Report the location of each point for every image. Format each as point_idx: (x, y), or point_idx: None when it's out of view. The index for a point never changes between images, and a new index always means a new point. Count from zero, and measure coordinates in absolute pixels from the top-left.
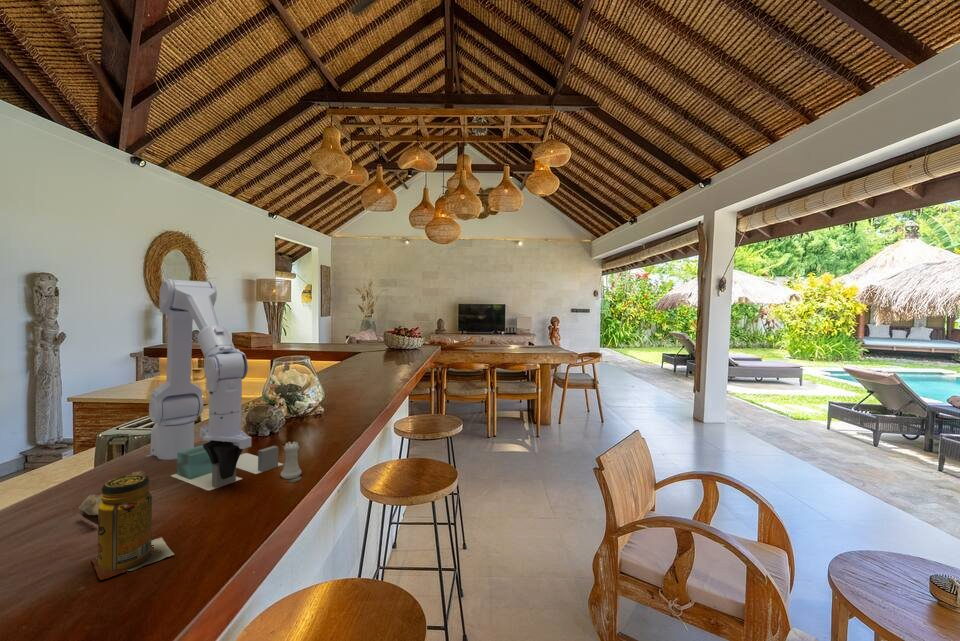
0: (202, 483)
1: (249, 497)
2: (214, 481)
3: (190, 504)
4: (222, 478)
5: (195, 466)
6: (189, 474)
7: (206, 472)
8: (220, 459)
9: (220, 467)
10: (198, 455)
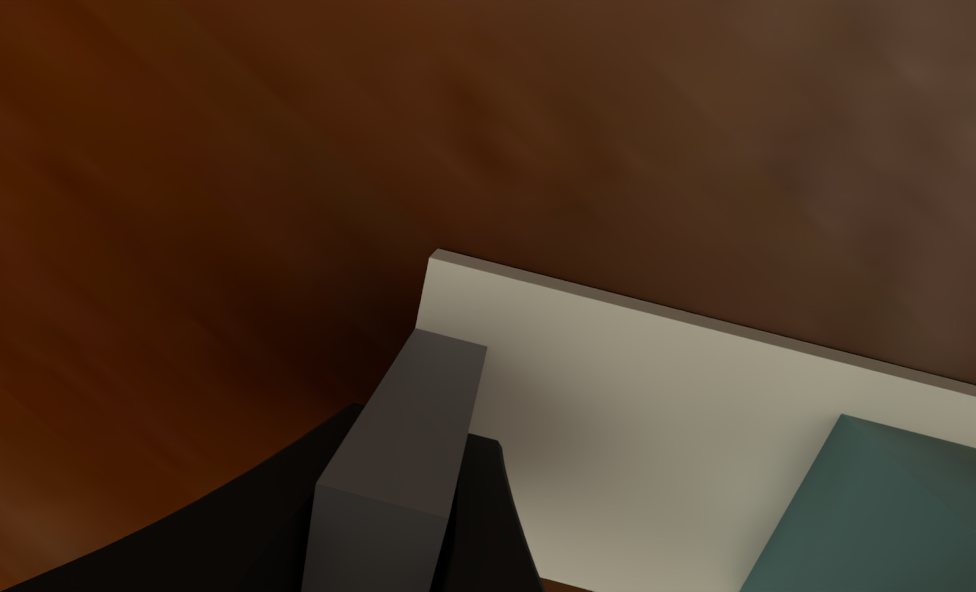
0: (634, 373)
1: (100, 311)
2: (435, 361)
3: (422, 28)
4: (356, 406)
5: (909, 560)
6: (891, 450)
7: (776, 555)
8: (108, 588)
9: (285, 481)
10: None
